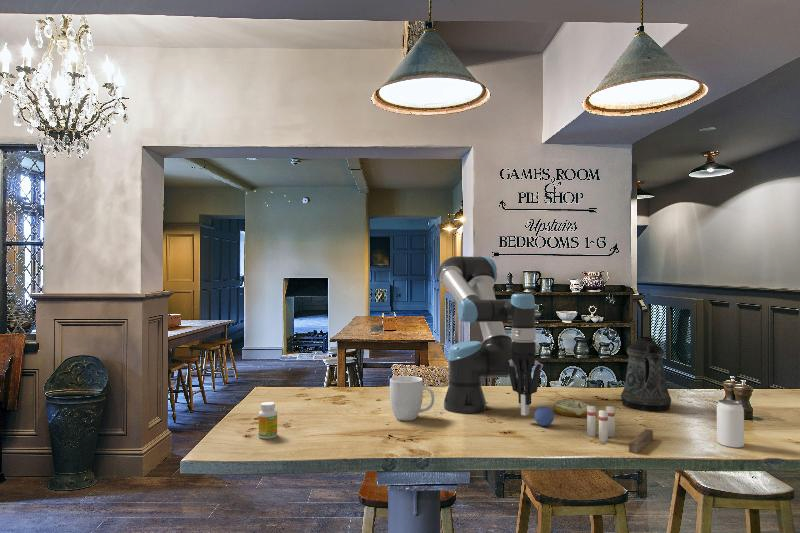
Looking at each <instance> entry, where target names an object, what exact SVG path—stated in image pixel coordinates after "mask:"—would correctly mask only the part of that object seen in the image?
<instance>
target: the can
mask: <svg viewBox="0 0 800 533" xmlns="http://www.w3.org/2000/svg"><path fill="white" fill-rule="evenodd" d="M742 404H743V402H740V401H737V400H733V399H719V400H718V403H717V405H716V442H717V443H718V444H719V445H720V446H723V447H726V448H731V449H741V448H743V447H744V445H745V410H744V407H743V405H742Z"/></svg>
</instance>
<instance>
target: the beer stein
mask: <svg viewBox="0 0 800 533" xmlns="http://www.w3.org/2000/svg"><path fill="white" fill-rule="evenodd" d="M626 353H627V355H628V360H627V370H626V374H625V381H624V386H623V390H622V392H621V394H620V399H621V401H622V402H621V403H622V405H623V406H624V407H625V408H629V409H630V410H636V411H640V412H641V411H642V412H648V413H649V412H650V413H654V412H655V413H656V412H657V413H661V412H666V411H669V410H670V408H671V405H672V397H671V395H670V393H669V392H670V391H669V390H668V384H667V381H666V376H665V368H664V362H663V358H664V356H665V350H664V349H663V348H662V347H661V346H660V345H659V344H657V343H656V342H655V341H654V339H653V337H650V336H639V337H638V339H637V340H636V341H635V342H634V343H632V344H631V345H629V346H628V347H627V348H626Z"/></svg>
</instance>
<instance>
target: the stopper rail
mask: <svg viewBox="0 0 800 533" xmlns="http://www.w3.org/2000/svg"><path fill="white" fill-rule="evenodd" d="M653 440H654V430H652V429H647V428H646V429H644V430H643V431H641V432H640V433H639V434H637V435H636V437H634V438H633V439H632V440H631V441H629V442H628V453H632V454H635V455H637V454H638V453H639V452H640V451H642V450H643V449H644V448H645V447H646V446H647V445H648V444H649V443H651V441H653Z"/></svg>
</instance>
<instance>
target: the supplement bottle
mask: <svg viewBox="0 0 800 533" xmlns="http://www.w3.org/2000/svg"><path fill="white" fill-rule="evenodd" d="M275 408H276V403H275V402H274V401H265V402H262V403H260V409H261V410H260V411H259V412H258V438H260V439H265V440H267V439H274V438H276V437H277V436H278V411H277V410H276V409H275Z"/></svg>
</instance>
